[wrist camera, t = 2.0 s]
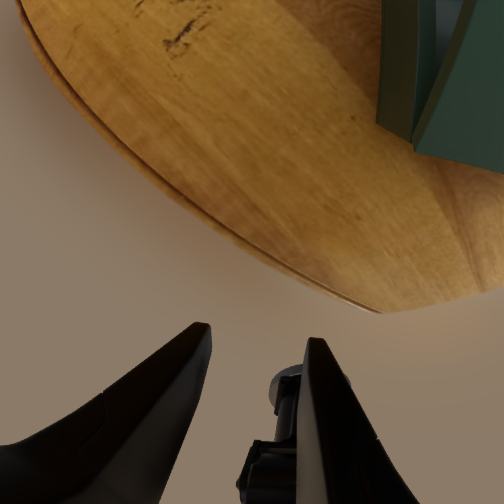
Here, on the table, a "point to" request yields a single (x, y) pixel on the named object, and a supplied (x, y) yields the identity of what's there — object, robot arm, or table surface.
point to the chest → (411, 58)
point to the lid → (468, 92)
